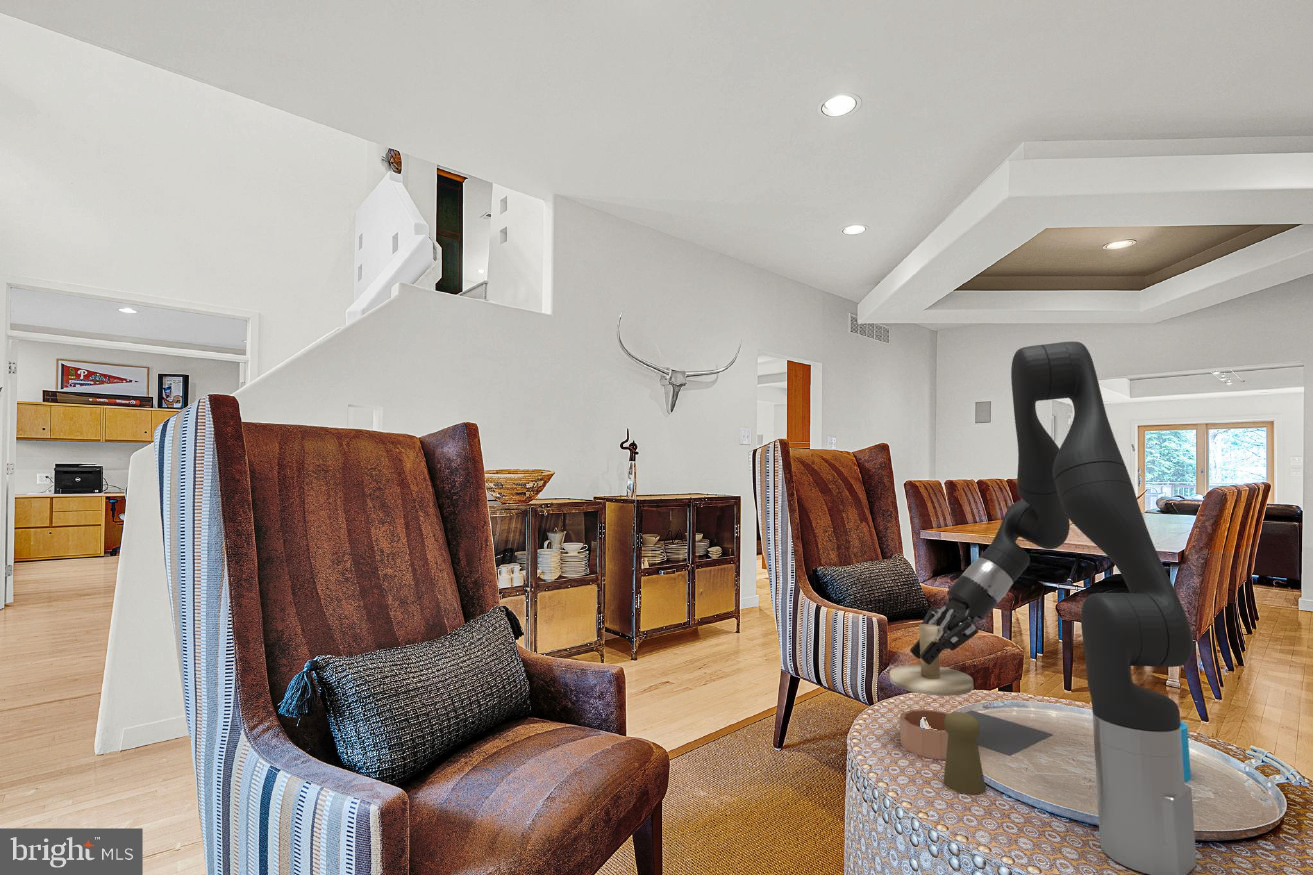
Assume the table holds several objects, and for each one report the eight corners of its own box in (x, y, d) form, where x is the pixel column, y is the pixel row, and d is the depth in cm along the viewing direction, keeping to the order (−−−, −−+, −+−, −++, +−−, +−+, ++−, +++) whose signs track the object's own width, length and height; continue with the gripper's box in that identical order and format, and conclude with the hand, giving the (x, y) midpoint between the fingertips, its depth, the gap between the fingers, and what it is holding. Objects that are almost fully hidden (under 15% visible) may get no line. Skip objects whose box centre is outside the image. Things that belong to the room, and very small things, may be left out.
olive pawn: (976, 777, 105) (973, 708, 106) (992, 795, 99) (988, 721, 100) (938, 776, 105) (935, 707, 106) (951, 794, 99) (948, 721, 100)
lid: (989, 685, 115) (986, 627, 116) (944, 701, 107) (942, 639, 108) (918, 666, 127) (916, 614, 127) (874, 680, 119) (872, 624, 120)
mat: (1053, 736, 121) (1053, 734, 121) (1010, 757, 112) (1009, 755, 112) (971, 712, 134) (971, 710, 134) (926, 729, 125) (926, 727, 125)
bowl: (980, 751, 115) (978, 722, 115) (944, 767, 109) (943, 736, 109) (924, 732, 124) (923, 705, 124) (888, 745, 118) (887, 717, 118)
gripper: (945, 569, 126) (887, 634, 124) (987, 580, 112) (923, 654, 110) (972, 595, 126) (915, 661, 124) (1018, 610, 112) (954, 684, 110)
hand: (919, 657), depth 117 cm, fingers closed on lid, 3 cm apart
